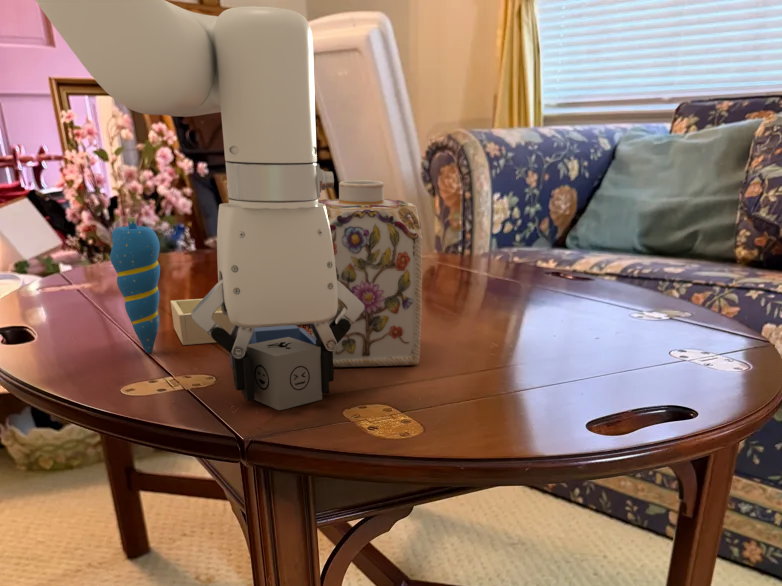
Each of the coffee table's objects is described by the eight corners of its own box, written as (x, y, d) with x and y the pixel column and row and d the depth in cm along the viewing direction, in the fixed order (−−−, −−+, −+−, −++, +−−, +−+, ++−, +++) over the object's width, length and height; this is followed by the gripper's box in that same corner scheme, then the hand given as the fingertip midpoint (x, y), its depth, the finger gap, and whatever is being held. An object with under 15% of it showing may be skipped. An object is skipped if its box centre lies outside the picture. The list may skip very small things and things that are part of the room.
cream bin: (182, 345, 90) (178, 315, 88) (174, 328, 97) (170, 300, 95) (255, 339, 93) (253, 309, 91) (242, 323, 100) (239, 296, 98)
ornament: (147, 345, 90) (126, 207, 82) (183, 350, 88) (165, 209, 81) (116, 356, 85) (92, 211, 78) (154, 361, 84) (132, 213, 76)
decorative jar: (406, 340, 93) (409, 177, 84) (422, 366, 83) (426, 185, 74) (308, 342, 92) (300, 177, 83) (312, 369, 82) (303, 185, 73)
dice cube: (291, 387, 76) (288, 336, 74) (322, 399, 73) (320, 347, 70) (248, 397, 73) (244, 345, 70) (279, 410, 70) (275, 356, 67)
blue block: (258, 375, 78) (255, 331, 76) (250, 364, 81) (246, 321, 79) (301, 371, 79) (299, 327, 77) (291, 360, 83) (288, 318, 81)
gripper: (356, 183, 70) (358, 374, 78) (161, 184, 64) (187, 390, 73) (384, 189, 64) (383, 395, 72) (172, 191, 58) (198, 415, 67)
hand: (285, 391), depth 72 cm, fingers closed on dice cube, 6 cm apart
